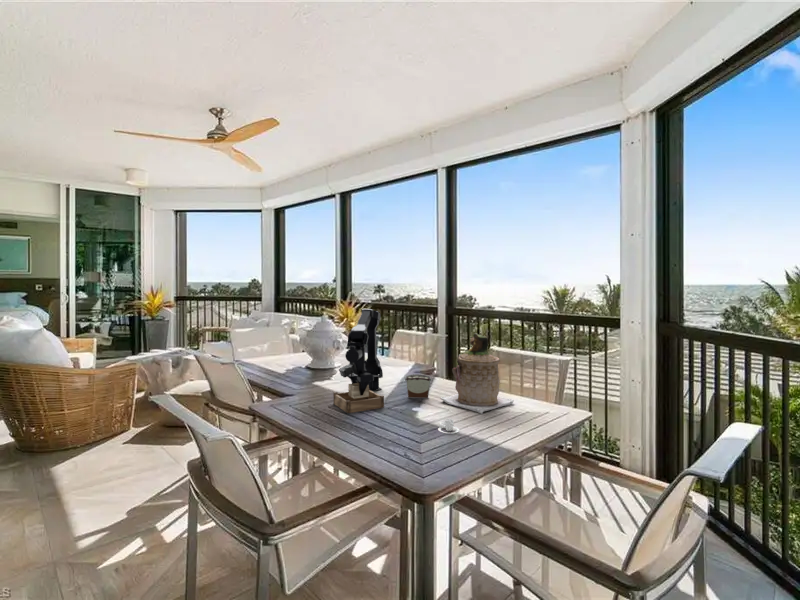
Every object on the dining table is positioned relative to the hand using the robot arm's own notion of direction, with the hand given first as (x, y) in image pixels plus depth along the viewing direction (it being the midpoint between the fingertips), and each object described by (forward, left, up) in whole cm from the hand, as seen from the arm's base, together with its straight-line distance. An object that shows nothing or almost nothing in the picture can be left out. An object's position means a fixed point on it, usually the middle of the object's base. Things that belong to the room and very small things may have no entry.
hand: (358, 393), depth 194 cm
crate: (0, 0, -5) cm, 5 cm away
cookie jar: (+22, +48, -6) cm, 53 cm away
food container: (0, +31, -6) cm, 31 cm away
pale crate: (0, 0, -1) cm, 1 cm away
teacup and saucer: (+43, +19, -6) cm, 48 cm away
